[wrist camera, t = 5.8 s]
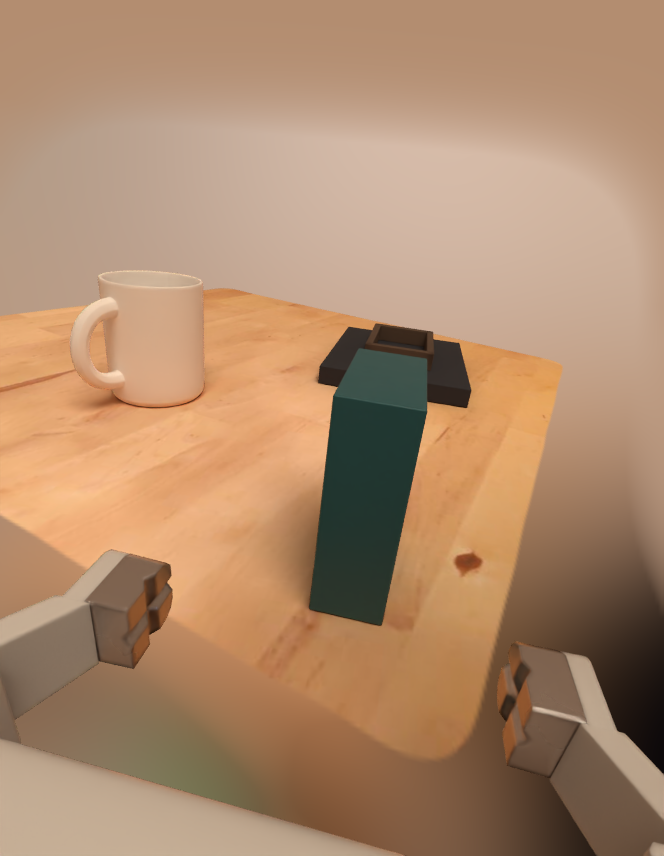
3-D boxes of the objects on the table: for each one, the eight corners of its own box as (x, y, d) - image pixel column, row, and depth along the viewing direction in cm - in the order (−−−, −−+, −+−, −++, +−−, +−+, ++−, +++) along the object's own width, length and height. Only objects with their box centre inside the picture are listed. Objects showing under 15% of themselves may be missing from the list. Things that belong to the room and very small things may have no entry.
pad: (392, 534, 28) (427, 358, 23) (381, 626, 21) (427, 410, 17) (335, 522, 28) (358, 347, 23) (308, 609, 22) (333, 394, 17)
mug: (113, 432, 35) (97, 295, 31) (49, 402, 39) (27, 275, 34) (222, 392, 45) (223, 283, 40) (164, 370, 48) (158, 268, 44)
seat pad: (456, 356, 66) (462, 329, 64) (467, 407, 48) (476, 371, 46) (346, 340, 68) (350, 312, 66) (318, 383, 50) (321, 347, 48)
